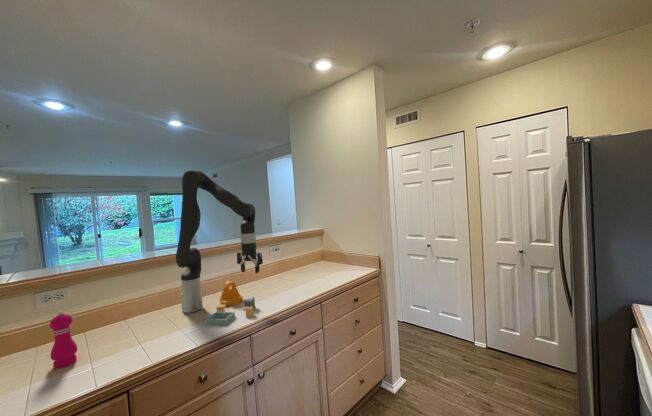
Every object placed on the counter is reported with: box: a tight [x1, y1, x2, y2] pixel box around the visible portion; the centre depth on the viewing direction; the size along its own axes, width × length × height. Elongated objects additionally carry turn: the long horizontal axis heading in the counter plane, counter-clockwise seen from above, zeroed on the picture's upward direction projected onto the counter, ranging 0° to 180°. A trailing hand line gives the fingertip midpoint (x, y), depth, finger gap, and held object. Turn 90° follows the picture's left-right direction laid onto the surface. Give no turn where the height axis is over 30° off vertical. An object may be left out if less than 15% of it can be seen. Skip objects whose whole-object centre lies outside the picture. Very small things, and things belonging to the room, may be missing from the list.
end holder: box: [205, 311, 236, 326], centre depth 129 cm, size 10×8×2 cm
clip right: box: [243, 307, 254, 318], centre depth 133 cm, size 4×3×4 cm
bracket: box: [219, 280, 244, 307], centre depth 152 cm, size 11×7×12 cm, turn 129°
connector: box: [243, 295, 256, 310], centre depth 141 cm, size 4×4×6 cm
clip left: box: [216, 304, 227, 312], centre depth 138 cm, size 4×3×4 cm
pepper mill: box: [49, 310, 78, 369], centre depth 100 cm, size 7×7×20 cm
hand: (250, 272), depth 141 cm, fingers open, 8 cm apart
